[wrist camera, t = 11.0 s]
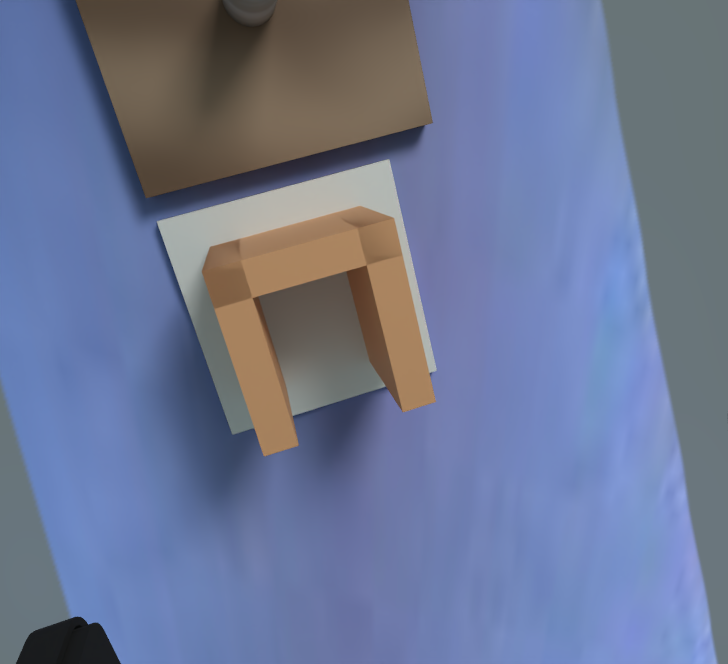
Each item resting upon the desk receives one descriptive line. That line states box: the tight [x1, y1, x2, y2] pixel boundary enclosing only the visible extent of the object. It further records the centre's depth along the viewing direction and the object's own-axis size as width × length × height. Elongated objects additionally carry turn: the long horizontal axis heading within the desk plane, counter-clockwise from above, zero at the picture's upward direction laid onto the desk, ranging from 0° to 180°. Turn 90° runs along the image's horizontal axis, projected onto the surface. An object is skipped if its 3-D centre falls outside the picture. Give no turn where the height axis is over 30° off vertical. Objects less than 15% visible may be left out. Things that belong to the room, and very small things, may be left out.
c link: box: [202, 206, 436, 456], centre depth 24 cm, size 7×7×6 cm
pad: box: [157, 159, 437, 435], centre depth 27 cm, size 10×10×1 cm
